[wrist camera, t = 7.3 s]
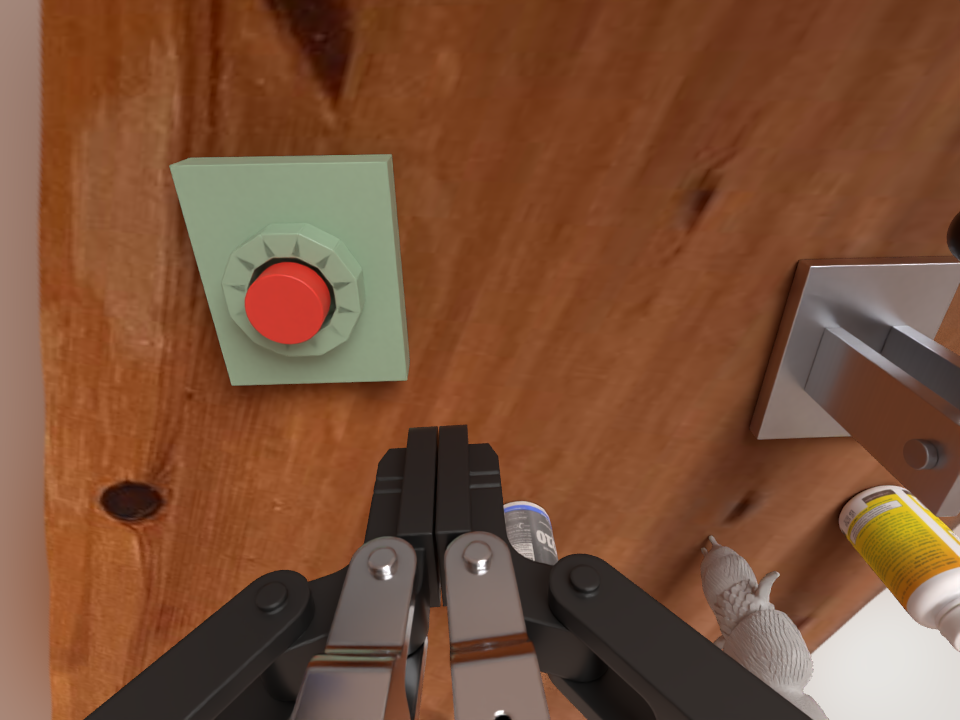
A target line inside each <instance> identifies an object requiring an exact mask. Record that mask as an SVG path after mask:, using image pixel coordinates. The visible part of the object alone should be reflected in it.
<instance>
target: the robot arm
mask: <svg viewBox="0 0 960 720" xmlns="http://www.w3.org/2000/svg"><path fill="white" fill-rule="evenodd" d="M441 589H442V599H443V606H447V611H448V624H449V638H450V661H451V675H452V689H453V703H454V717H455V720H550V715H549V710H548V706H547V701H546V696H545V692H544V687H543V683H542V678H541V673H540V671H541V672H544V673H547V674H548V676H549V678H550V680H551V681H552V683H553V684H554V685H555V686H556V687H557V688H558V689H559V691H560V692H561V693H562V694H563V695H564V696H565V697H566V698H567V699H568V700H569V701H570V702H571V703H572V704H573V705H574V706H575V707H576V708H577V709H578V710H579V711H580V712H581V713H582V714H583V715H584V716H585V717H586V719H587V720H813V719H812V718H810V717H809V716H808V715H806V714H805V713H804V712H803V711H801V710H800V709H799V708H797V707H796V706H795V705H793V704H792V703H791V702H789V701H788V700H787V699H785V698H784V697H783V696H781V695H780V694H779V693H778V692H776V691H775V690H774V689H772V688H771V687H770V686H768V685H767V684H766V683H764V682H763V681H762V680H760V679H759V678H758V677H757V676H755V675H754V674H753V673H751V672H750V671H749V670H747V669H746V668H745V667H743V666H742V665H741V664H739V663H738V662H737V661H736V660H734V659H733V658H732V657H730V656H729V655H728V654H726V653H725V652H724V651H722V650H721V649H720V648H718V647H717V646H716V645H714V644H713V643H712V642H711V641H709V640H708V639H707V638H705V637H704V636H703V635H701V634H700V633H699V632H697V631H696V630H695V629H693V628H692V627H691V626H690V625H688V624H687V623H686V622H684V621H683V620H682V619H680V618H679V617H678V616H676V615H675V614H674V613H672V612H671V611H670V610H668V609H667V608H666V607H665V606H663V605H662V604H661V603H659V602H658V601H657V600H655V599H654V598H653V597H651V596H650V595H649V594H647V593H646V592H645V591H644V590H642V589H641V588H640V587H638V586H637V585H636V584H634V583H633V582H632V581H630V580H629V579H628V578H626V577H625V576H624V575H623V574H621V573H620V572H619V571H617V570H616V569H615V568H613V567H612V566H611V565H609V564H608V563H607V562H605V561H604V560H602V559H600V558H598V557H595V556H592V555H588V554H572V555H568V556H566V557H563V558H562V559H560V560H559V561H558V562H557V563H556V564H555V565H549V564H545V563H541V562H537V561H533V560H531V559H528V558H526V557H524V556H523V555H521V554H520V553H519V552H517V551H516V550H515V549H514V548H513V546H512V545H511V543H510V542H509V540H508V537H507V532H506V524H505V515H504V506H503V497H502V487H501V478H500V469H499V460H498V455H497V454H496V453H495V451H494V450H493V449H492V447H491V446H490V445H489V443H483V444H468V430H467V425H452V426H440V427H439V433H438V427H437V426H435V427H417V428H409V432H408V441H407V448H395V449H389V450H388V451H387V453H386V454H385V455H384V457H383V458H382V459H381V461H380V462H379V464H378V470H377V475H376V482H375V486H374V494H373V497H372V502H371V508H370V513H369V519H368V524H367V530H366V535H365V541H364V545H362V546H361V547H360V548H359V549H358V550H357V551H356V552H355V553H354V555H353V557H352V558H351V561H350V564H349V565H347V566H346V567H344V568H343V569H341V570H339V571H337V572H335V573H333V574H330V575H327V576H324V577H321V578H319V579H316V580H313V581H310V582H308V581H307V580H306V578H305V577H304V576H303V575H301V574H300V573H298V572H295V571H291V570H279V571H274V572H270V573H268V574H265V575H263V576H261V577H259V578H258V579H256V580H255V581H253V582H252V583H251V584H249V585H248V586H247V587H246V588H245V589H243V590H242V591H241V592H240V593H238V594H237V595H236V596H235V597H234V598H232V599H231V600H230V601H229V602H227V603H226V604H225V605H224V606H222V607H221V608H220V609H219V610H218V611H216V612H215V613H214V614H213V615H211V616H210V617H209V618H208V619H206V620H205V621H204V622H203V623H202V624H200V625H199V626H198V627H197V628H195V629H194V630H193V631H192V632H191V633H189V634H188V635H187V636H186V637H184V638H183V639H182V640H181V641H179V642H178V643H177V644H176V645H175V646H173V647H172V648H171V649H170V650H168V651H167V652H166V653H165V654H163V655H162V656H161V657H160V658H159V659H157V660H156V661H155V662H154V663H152V664H151V665H150V666H149V667H148V668H146V669H145V670H144V671H143V672H141V673H140V674H139V675H138V676H136V677H135V678H134V679H133V680H132V681H130V682H129V683H128V684H127V685H125V686H124V687H123V688H122V689H120V690H119V691H118V692H117V693H116V694H114V695H113V696H112V697H111V698H109V699H108V700H107V701H106V702H105V703H103V704H102V705H101V706H100V707H98V708H97V709H96V710H95V711H93V712H92V713H91V714H90V715H89V716H87V717H86V718H85V719H84V720H419V713H420V705H421V696H422V688H423V680H424V672H425V663H426V655H427V647H428V635H427V634H428V630H429V613H430V607H440V600H441Z"/></svg>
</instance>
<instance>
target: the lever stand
mask: <svg viewBox="0 0 960 720" xmlns="http://www.w3.org/2000/svg"><path fill="white" fill-rule="evenodd" d="M959 283H960V261H959V260H958V259H957V258H956V257H953V256H932V257H890V258H847V259H805V260H799V262H798V265H797V269H796V272H795V276H794V279H793V282H792V286H791V289H790V292H789V296H788V299H787V303H786V306H785V309H784V313H783V316H782V319H781V323H780V326H779V330H778V333H777V336H776V340H775V343H774V347H773V350H772V353H771V357H770V360H769V363H768V367H767V370H766V374H765V377H764V380H763V384H762V387H761V390H760V394H759V397H758V401H757V404H756V407H755V411H754V414H753V417H752V421H751V424H750V428H749V429H750V431H751V432H752V433H753V435H754V436H755V437H756V438H757V439H786V438H816V437H846V436H852V437H853V438H854V439H855V440H856V441H857V442H858V443H859V444H860V445H862V446H863V447H864V448H865V449H866V450H867V451H868V452H869V453H870V454H871V455H872V456H873V457H874V458H875V459H876V460H877V461H878V462H879V463H880V464H881V465H882V466H883V467H885V468H886V469H887V470H888V471H889V472H890V473H891V474H892V475H893V476H894V477H895V478H896V479H897V480H898V481H899V482H900V483H901V484H902V485H903V486H904V487H905V488H907V489H908V490H909V491H910V492H911V493H912V494H913V495H914V496H915V497H916V498H917V499H918V500H919V501H920V502H921V503H922V504H923V505H924V506H925V507H926V508H927V509H928V510H930V511H931V512H932V513H933V514H934V515H935V516H936V517H946V516H957V515H958V513H959V511H960V356H959V355H957V354H955V353H954V352H952V351H950V350H948V349H947V348H945V347H943V346H942V345H940V344H938V343H937V342H935V341H933V340H934V338H935V336H936V333H937V331H938V329H939V327H940V325H941V322H942V320H943V318H944V316H945V314H946V312H947V309H948V307H949V305H950V303H951V301H952V299H953V296H954V294H955V292H956V290H957V288H958V286H959Z"/></svg>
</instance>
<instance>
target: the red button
mask: <svg viewBox="0 0 960 720" xmlns="http://www.w3.org/2000/svg"><path fill="white" fill-rule="evenodd" d="M330 302H331V300H330V293H329V290H328V287H327V285H326V284H325V282H324V281H323V279H322V278H321V277H320V276H319V275H318V274H317V273H316V272H315V271H313V270H312V269H310V268H309V267H307V266H304V265H302V264H299V263H294V262H281V263H277V264H274V265H272V266H270V267H268V268H267V269H265V270H264V271H263V272H262V273H261V274H260V276H259V277H258V278H257V279H256V280H255V281H254V282H253V283H252V284H251V286H250V287H249V289H248V291H247V293H246V296H245V311H246V314H247V317H248V319H249V321H250V323H251V324H252V326H253V327H254V328H255V329H256V330H257V331H258V332H259V333H260V334H262V335H263V336H264V337H266V338H268V339H270V340H272V341H275V342H278V343H282V344H298V343H302V342H305V341H307V340H309V339H311V338H312V337H313V336H314V335H316V334H317V332H318V331H319V330H320V328H321V326H322V324H323V322H324V320H325V318H326V316H327V314H328V312H329V309H330Z"/></svg>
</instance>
